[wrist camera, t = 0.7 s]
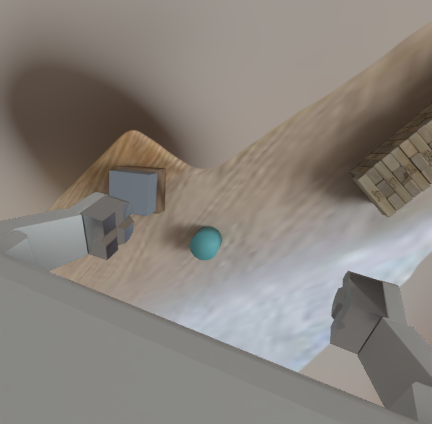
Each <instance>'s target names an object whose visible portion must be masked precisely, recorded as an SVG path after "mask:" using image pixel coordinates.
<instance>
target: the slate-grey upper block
mask: <svg viewBox="0 0 432 424" xmlns="http://www.w3.org/2000/svg"><path fill="white" fill-rule="evenodd" d="M156 191H157V173H151V172H142V171H133V170H124V169H118V170H109V195H110V196H113V197H116V198H119V199H122V200H125V201H128V202H130V203H131V204H132V205H133V213H132V214H136V215H143V216H148V215H150V214H152V213H153V212H155V211H156Z"/></svg>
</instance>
